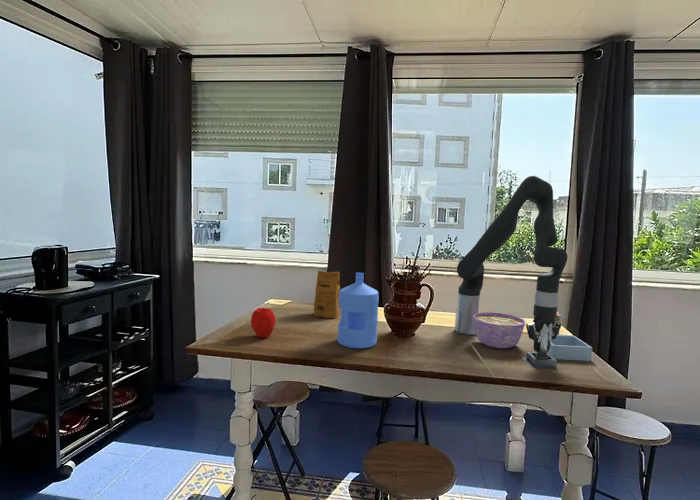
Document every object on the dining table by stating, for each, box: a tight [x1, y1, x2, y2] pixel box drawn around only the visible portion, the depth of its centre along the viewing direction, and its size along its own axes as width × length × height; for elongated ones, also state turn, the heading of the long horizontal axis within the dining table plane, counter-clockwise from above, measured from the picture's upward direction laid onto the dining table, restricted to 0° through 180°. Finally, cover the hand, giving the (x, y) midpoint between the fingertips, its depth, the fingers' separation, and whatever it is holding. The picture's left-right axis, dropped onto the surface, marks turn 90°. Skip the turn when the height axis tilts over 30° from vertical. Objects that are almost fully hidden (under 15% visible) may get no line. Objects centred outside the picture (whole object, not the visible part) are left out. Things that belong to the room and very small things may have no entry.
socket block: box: [521, 351, 562, 370], centre depth 153 cm, size 10×10×4 cm
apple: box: [250, 307, 276, 339], centre depth 173 cm, size 10×10×12 cm
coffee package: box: [313, 269, 341, 319], centre depth 208 cm, size 10×12×22 cm
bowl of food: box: [473, 311, 527, 349], centre depth 172 cm, size 20×20×12 cm
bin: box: [547, 334, 593, 362], centre depth 165 cm, size 14×14×6 cm
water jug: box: [337, 271, 379, 350], centre depth 170 cm, size 16×16×28 cm
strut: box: [535, 325, 549, 359], centre depth 152 cm, size 4×4×14 cm
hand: (541, 350), depth 153 cm, fingers closed on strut, 3 cm apart
